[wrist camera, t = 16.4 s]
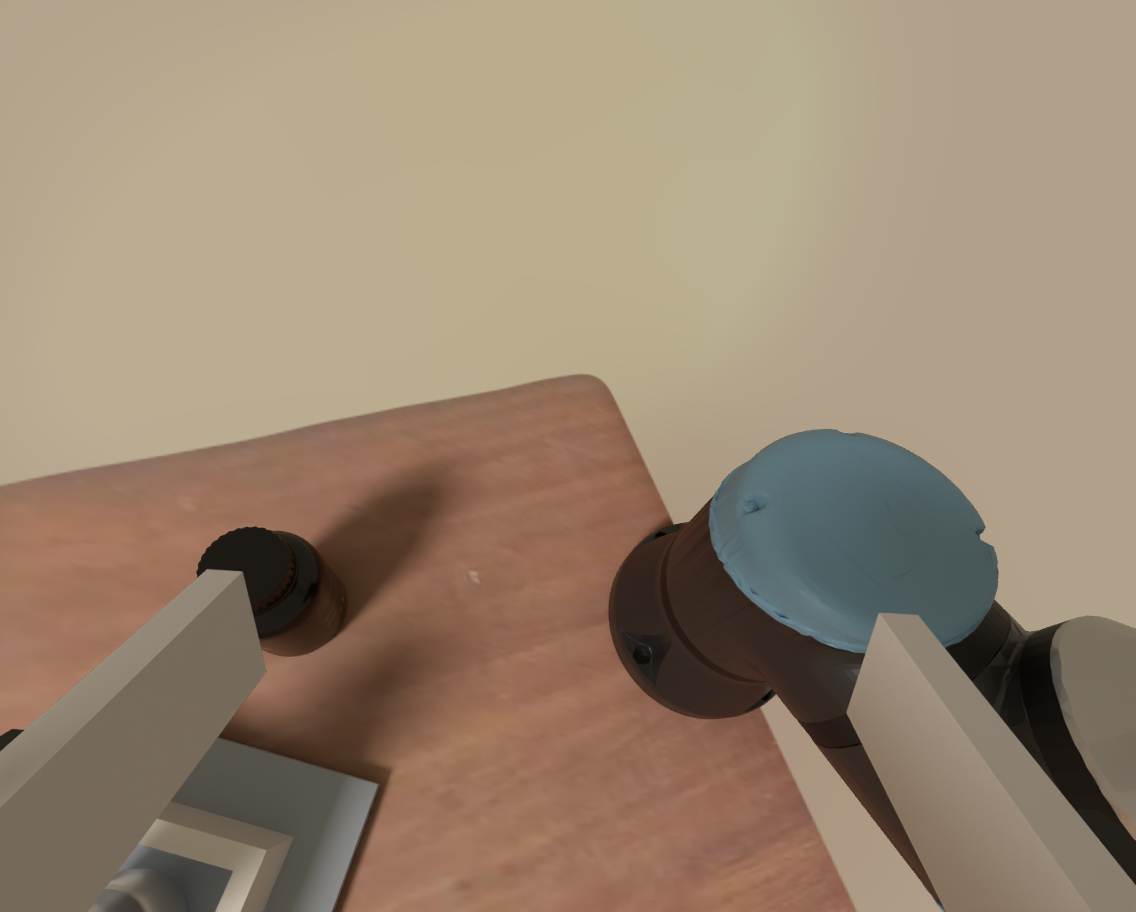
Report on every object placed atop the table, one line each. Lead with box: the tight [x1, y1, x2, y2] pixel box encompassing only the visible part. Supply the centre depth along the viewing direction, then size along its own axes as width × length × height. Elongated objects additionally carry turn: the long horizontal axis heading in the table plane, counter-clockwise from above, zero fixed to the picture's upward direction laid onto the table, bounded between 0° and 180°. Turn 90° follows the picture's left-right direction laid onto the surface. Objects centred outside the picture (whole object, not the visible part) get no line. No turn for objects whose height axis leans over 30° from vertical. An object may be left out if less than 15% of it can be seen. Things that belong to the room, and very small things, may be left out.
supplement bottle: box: [196, 526, 347, 657], centre depth 36 cm, size 7×7×12 cm
